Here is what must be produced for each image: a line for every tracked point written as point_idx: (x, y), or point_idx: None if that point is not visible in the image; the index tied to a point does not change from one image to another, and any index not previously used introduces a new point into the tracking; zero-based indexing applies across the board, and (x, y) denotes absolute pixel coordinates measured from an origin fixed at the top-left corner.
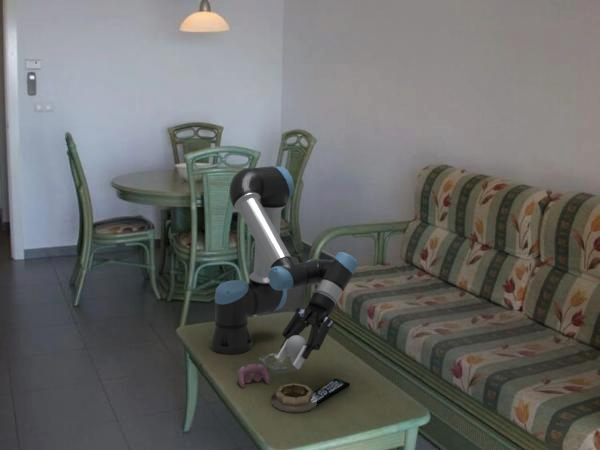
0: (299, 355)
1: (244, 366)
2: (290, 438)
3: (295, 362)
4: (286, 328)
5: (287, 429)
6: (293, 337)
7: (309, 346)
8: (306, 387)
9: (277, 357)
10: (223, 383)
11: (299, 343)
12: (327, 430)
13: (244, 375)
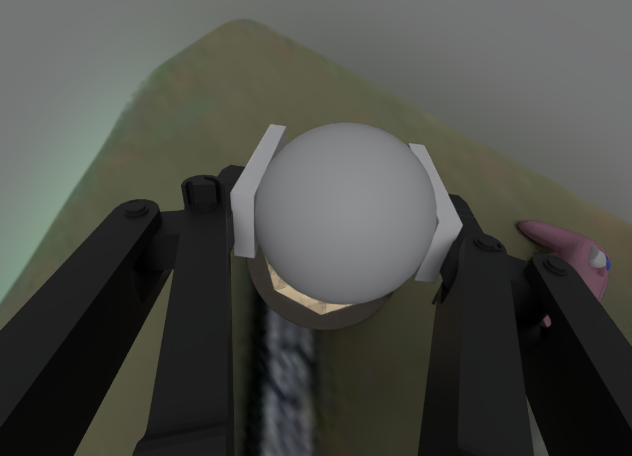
0: (260, 151)
1: (603, 269)
2: (209, 67)
3: (272, 131)
4: (598, 318)
5: (243, 99)
6: (364, 154)
7: (194, 202)
8: (309, 300)
9: (417, 147)
10: (591, 213)
11: (279, 159)
12: (144, 161)
13: (561, 249)
